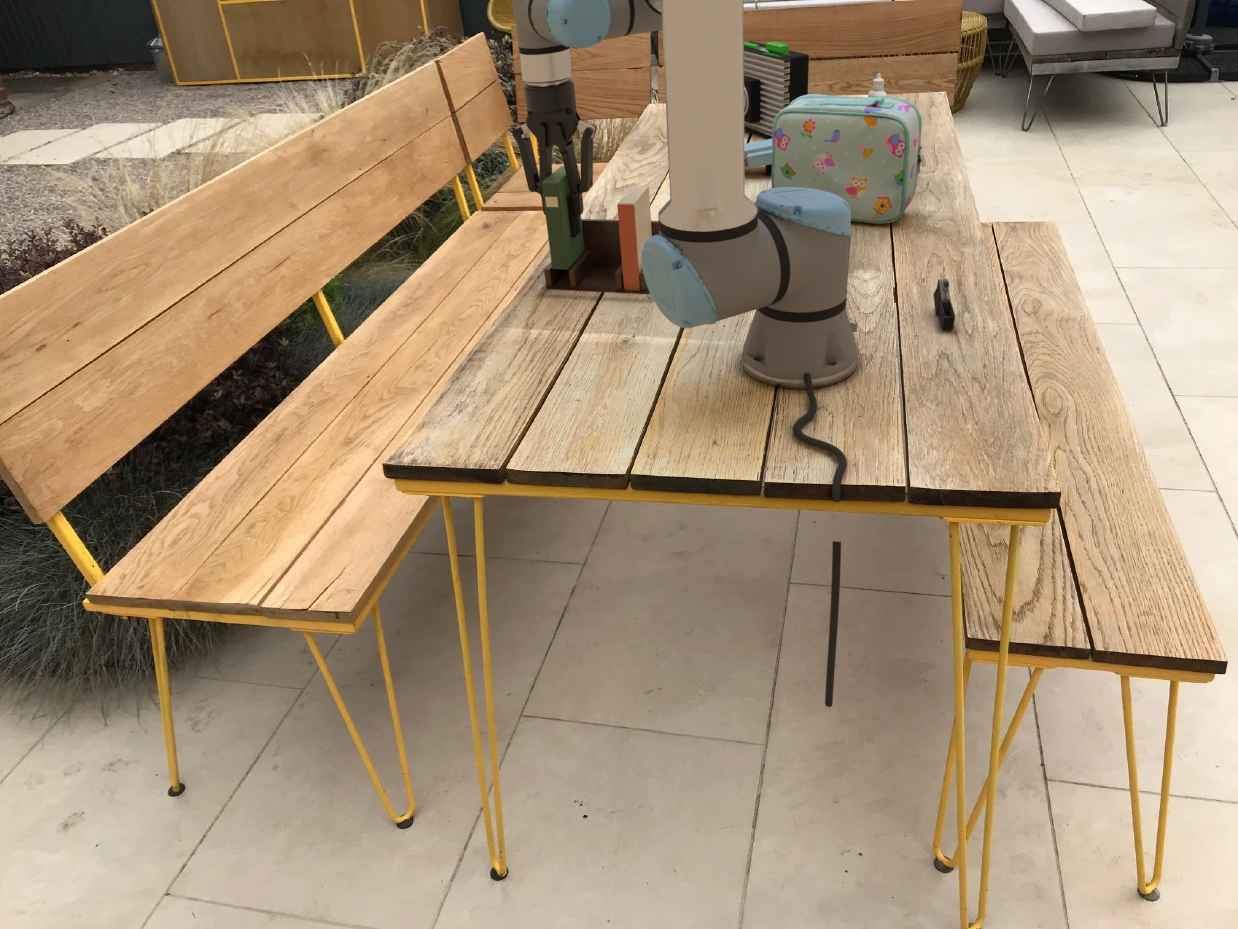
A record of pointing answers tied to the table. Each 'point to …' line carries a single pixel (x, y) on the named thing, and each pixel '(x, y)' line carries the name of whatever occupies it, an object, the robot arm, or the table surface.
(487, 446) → the table surface
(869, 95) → the eye dropper bottle
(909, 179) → the lunch box
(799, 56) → the electronic device
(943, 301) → the black narrow holder
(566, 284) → the book rack
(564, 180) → the green book
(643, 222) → the cream book
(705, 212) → the robot arm
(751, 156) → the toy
